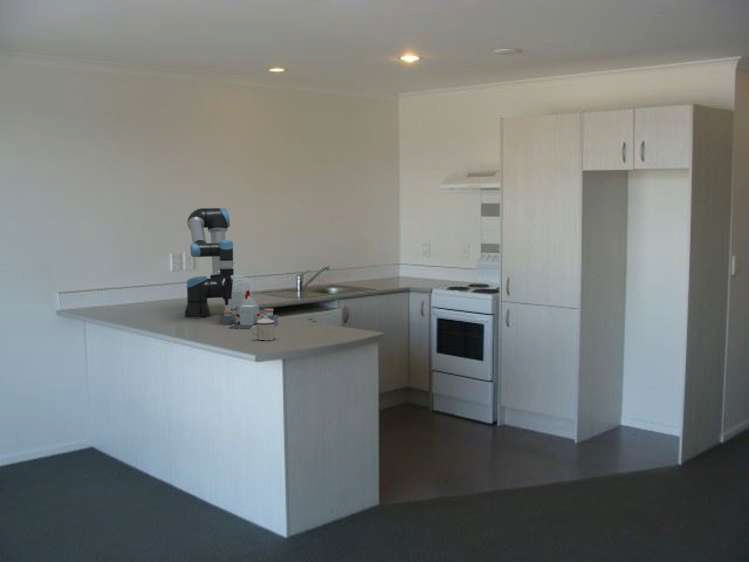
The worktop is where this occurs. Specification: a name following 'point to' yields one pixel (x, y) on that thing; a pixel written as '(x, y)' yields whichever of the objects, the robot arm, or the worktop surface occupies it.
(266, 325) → the teacup with lid
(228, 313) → the plunger
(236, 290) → the heart
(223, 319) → the housing
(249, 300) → the white red kettle
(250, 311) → the small box
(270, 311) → the plunger
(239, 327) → the mat
